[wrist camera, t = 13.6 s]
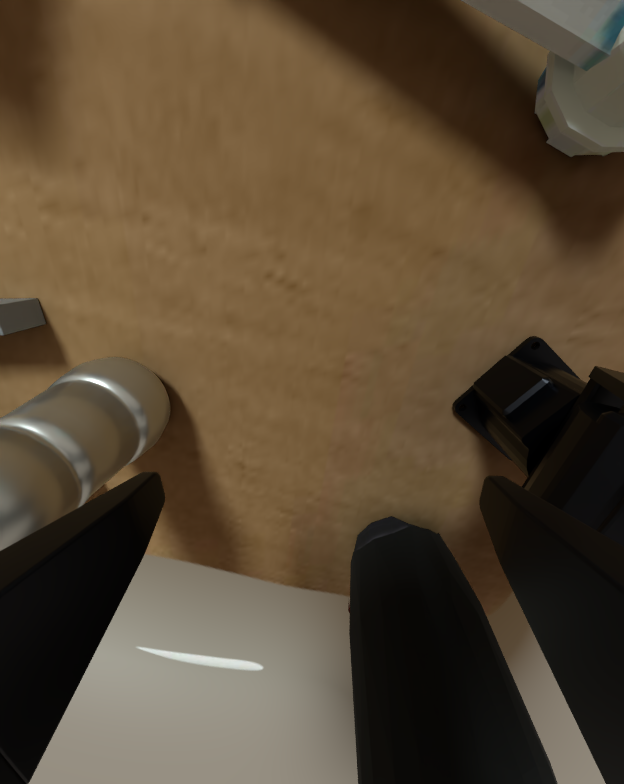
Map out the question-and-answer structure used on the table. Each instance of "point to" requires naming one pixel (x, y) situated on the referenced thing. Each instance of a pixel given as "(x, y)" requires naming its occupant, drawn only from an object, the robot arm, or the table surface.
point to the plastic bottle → (75, 441)
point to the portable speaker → (431, 671)
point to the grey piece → (574, 68)
